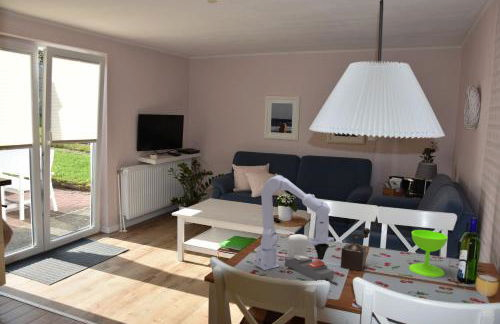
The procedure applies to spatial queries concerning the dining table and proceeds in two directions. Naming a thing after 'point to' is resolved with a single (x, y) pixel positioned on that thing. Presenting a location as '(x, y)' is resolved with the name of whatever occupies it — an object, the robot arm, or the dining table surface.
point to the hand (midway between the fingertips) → (320, 259)
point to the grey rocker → (301, 257)
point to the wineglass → (428, 251)
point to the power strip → (310, 269)
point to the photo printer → (297, 245)
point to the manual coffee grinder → (354, 254)
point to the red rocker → (316, 264)
